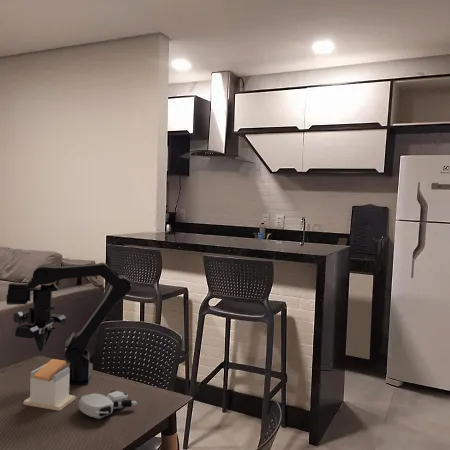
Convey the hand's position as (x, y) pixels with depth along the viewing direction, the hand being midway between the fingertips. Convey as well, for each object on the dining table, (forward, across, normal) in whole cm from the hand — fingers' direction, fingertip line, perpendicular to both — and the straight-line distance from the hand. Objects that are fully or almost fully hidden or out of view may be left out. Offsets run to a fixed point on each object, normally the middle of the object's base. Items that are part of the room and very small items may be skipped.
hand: (41, 350), depth 143 cm
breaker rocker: (+2, +10, +10) cm, 14 cm away
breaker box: (+11, +10, +10) cm, 18 cm away
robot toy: (+11, +9, +29) cm, 32 cm away
